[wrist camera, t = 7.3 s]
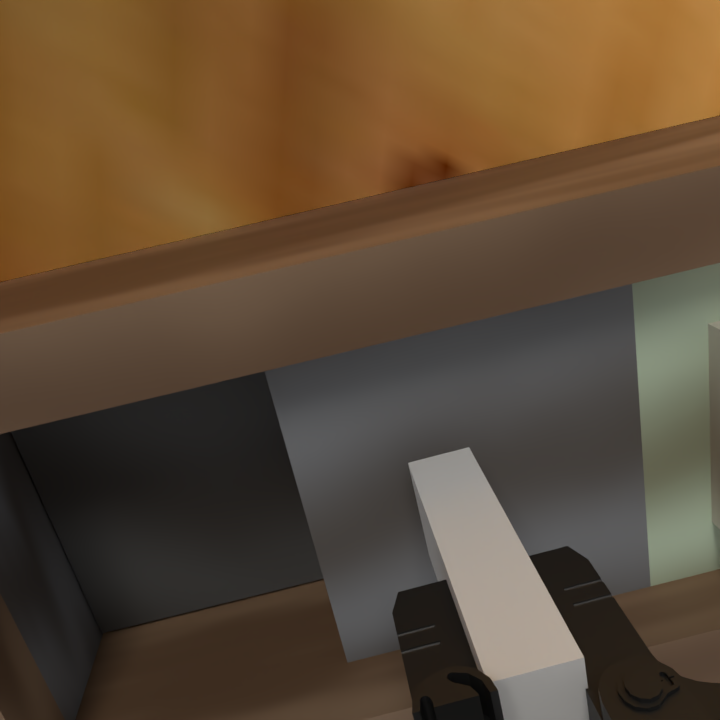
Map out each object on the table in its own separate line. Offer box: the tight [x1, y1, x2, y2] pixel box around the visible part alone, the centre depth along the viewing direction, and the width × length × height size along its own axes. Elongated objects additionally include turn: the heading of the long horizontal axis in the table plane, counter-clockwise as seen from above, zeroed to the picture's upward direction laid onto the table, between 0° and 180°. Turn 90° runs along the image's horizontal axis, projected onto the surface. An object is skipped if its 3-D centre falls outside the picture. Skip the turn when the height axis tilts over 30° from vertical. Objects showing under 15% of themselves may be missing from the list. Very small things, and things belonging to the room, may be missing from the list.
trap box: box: [0, 116, 720, 720], centre depth 19 cm, size 14×38×6 cm, turn 102°
